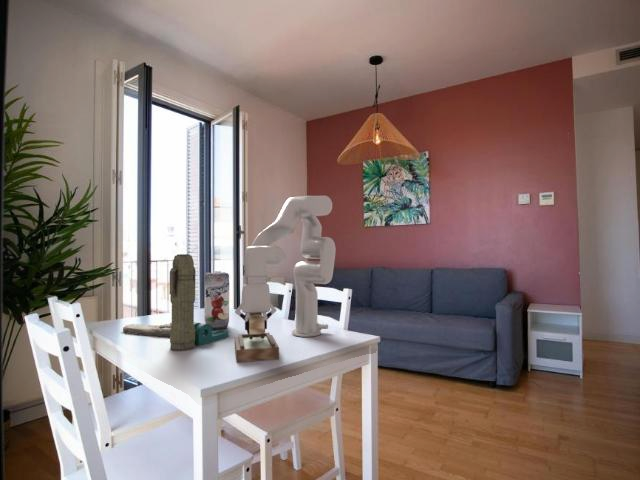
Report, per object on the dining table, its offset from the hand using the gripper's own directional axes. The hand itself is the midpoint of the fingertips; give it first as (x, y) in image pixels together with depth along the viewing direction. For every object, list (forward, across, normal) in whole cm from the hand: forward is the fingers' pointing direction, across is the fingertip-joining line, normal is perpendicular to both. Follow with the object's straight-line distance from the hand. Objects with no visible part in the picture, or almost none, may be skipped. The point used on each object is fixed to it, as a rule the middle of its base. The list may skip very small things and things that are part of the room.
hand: (255, 331), depth 133 cm
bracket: (+8, +16, -24) cm, 30 cm away
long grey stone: (+8, +39, -40) cm, 56 cm away
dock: (+8, 0, 0) cm, 8 cm away
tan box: (+2, 0, 0) cm, 2 cm away
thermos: (+8, +26, -14) cm, 31 cm away
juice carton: (+8, +14, -45) cm, 48 cm away
